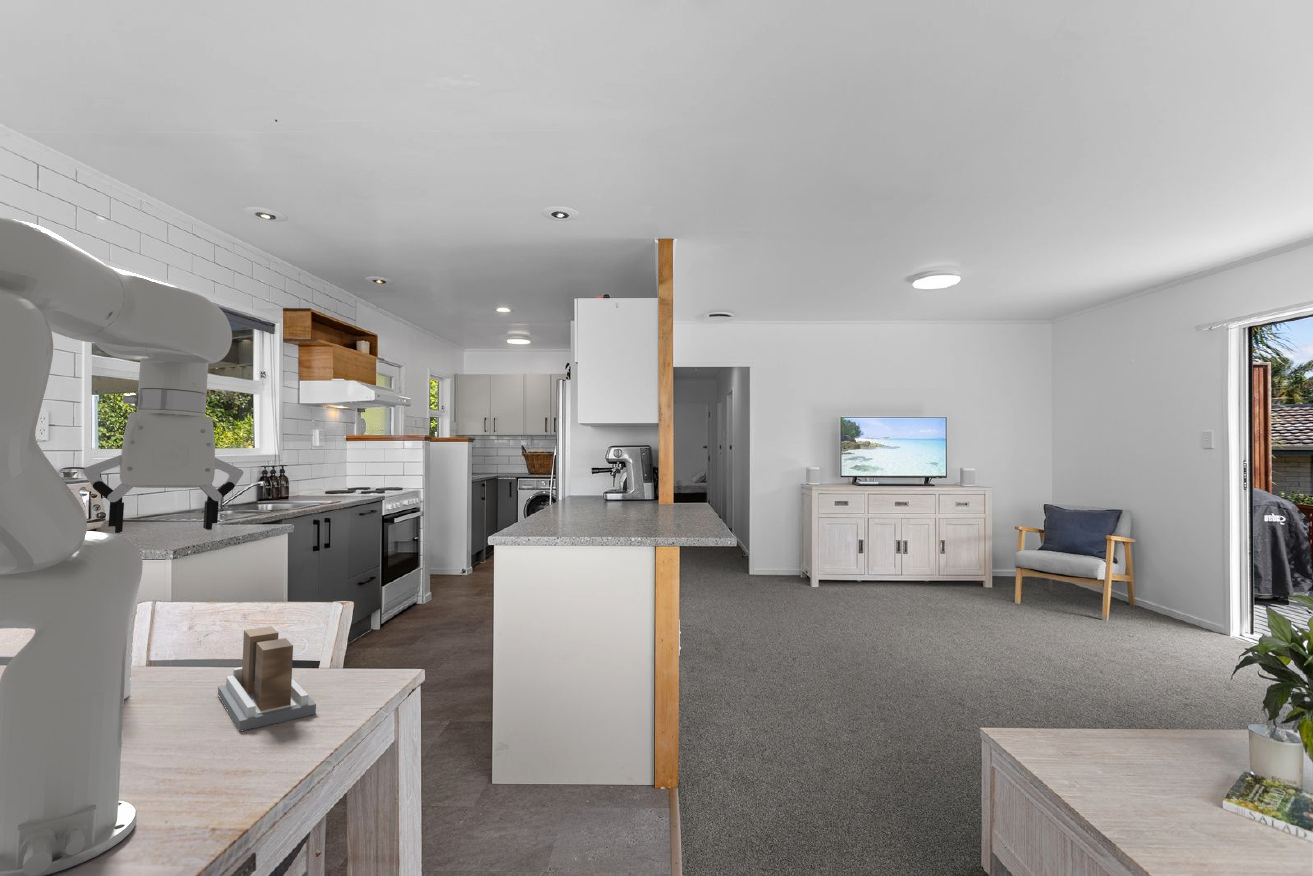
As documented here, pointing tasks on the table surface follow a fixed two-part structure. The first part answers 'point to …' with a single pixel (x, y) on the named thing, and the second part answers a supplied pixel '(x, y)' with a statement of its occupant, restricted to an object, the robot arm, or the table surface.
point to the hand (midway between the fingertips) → (164, 530)
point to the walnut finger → (273, 674)
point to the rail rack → (242, 686)
